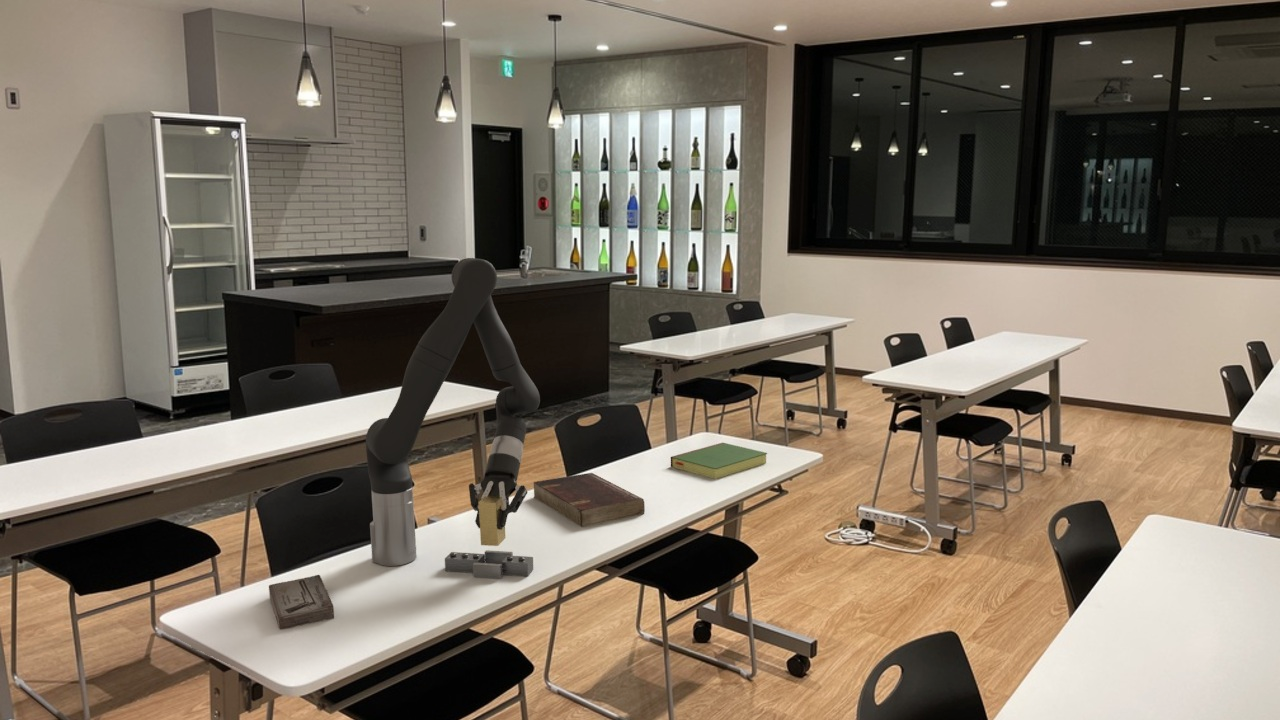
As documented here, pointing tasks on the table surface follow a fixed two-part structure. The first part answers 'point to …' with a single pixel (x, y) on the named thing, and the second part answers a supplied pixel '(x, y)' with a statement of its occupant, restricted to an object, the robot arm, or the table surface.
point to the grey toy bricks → (489, 564)
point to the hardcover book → (718, 460)
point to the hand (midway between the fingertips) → (489, 527)
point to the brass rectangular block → (490, 520)
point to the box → (300, 602)
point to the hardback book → (588, 499)
